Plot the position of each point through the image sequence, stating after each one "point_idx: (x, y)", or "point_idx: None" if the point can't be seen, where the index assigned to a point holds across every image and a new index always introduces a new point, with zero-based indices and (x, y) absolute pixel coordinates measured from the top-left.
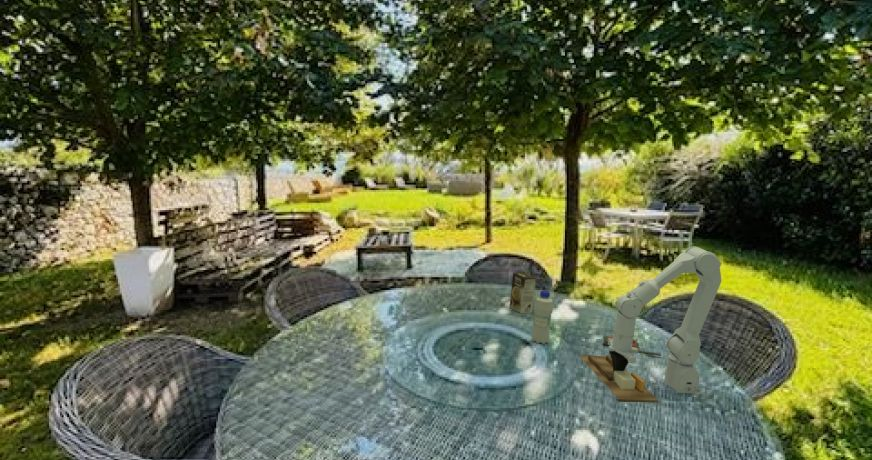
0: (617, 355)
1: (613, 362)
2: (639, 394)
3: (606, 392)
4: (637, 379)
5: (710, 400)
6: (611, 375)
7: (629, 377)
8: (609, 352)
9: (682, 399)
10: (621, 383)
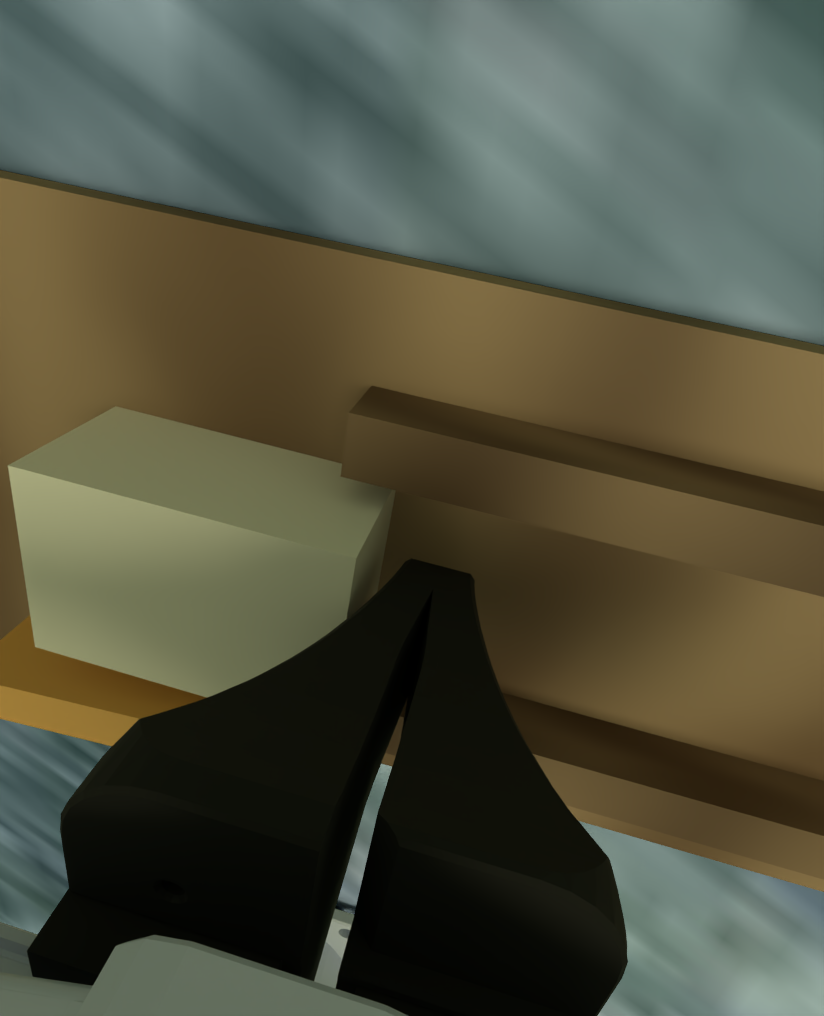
0: (179, 874)
1: (433, 689)
2: (5, 530)
3: (95, 121)
4: (74, 685)
5: None
6: (373, 473)
7: (109, 622)
8: (576, 870)
9: (55, 828)
10: (102, 441)
